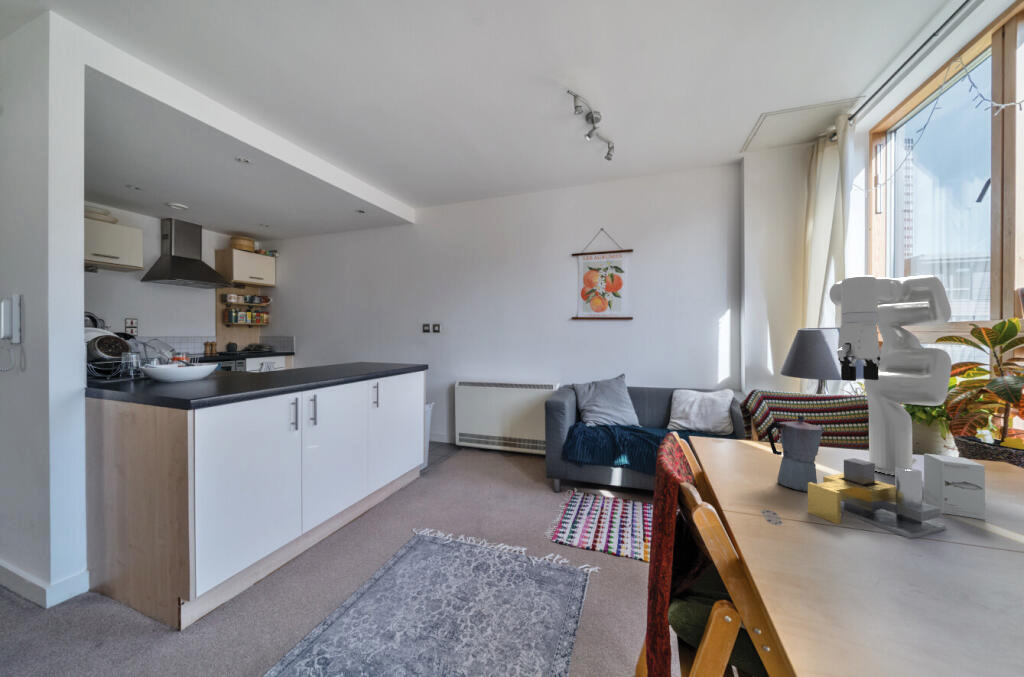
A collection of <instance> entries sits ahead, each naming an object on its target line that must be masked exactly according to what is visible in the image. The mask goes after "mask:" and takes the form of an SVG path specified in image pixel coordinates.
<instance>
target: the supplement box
mask: <svg viewBox="0 0 1024 677" xmlns="http://www.w3.org/2000/svg"><path fill="white" fill-rule="evenodd" d="M985 469H986V466H985V465H984V464H981V463H979V462H977V461H974V460H971V459H969V458H966V457H961V456H951V455H950V456H949V455H942V454H933V453H924V454H923V485H924V486H923V488H924V489H923V492H924V493H923V494H924V495H923V496H924V497H923V498H924V499H923V500H924V502H923V503H926V504H929V505H933V506H936V507H939V508H940V514H949V515H953V516H954V515H955V516H960V517H964V518H965V517H966V518H972V519H977V520H983V521H984V520H986V470H985Z"/></svg>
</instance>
